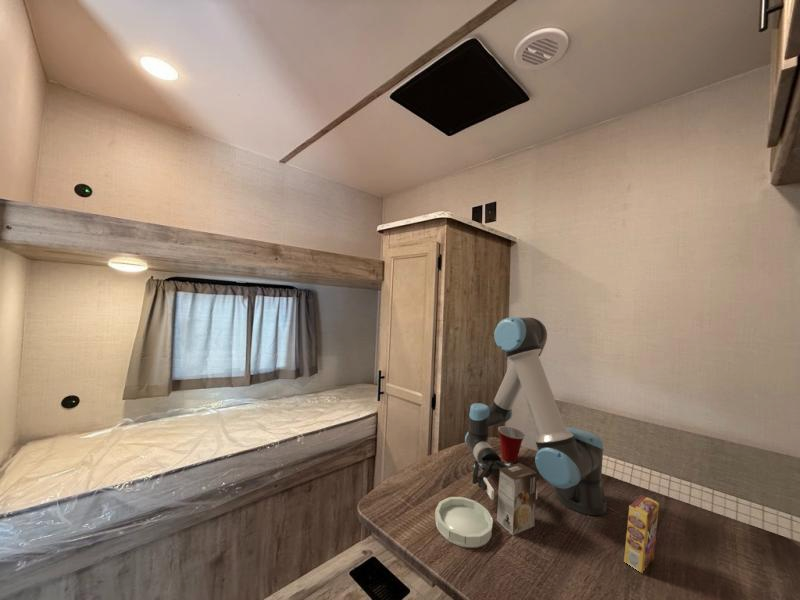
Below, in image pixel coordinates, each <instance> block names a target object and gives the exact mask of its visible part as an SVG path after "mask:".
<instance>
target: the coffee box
mask: <svg viewBox="0 0 800 600" xmlns="http://www.w3.org/2000/svg"><path fill="white" fill-rule="evenodd" d="M513 464H514V465H511V466H507V467H503V468H500V469H499V475H498V492H497V494H498V495H497V513H496V514H497V515H496V521H498V522H499V524H500V526H502V527H503V528H504V530H506V531H507V532H508V531H509V532H508V533H509V534H510V535H512V536H515V535H518V534H520V533H522V532H524V531H526V530H529V529H531V528H533V527H535V522H536V521H535V520H536V501H537V499H536V489H537V476H538V472H536V471H535V470H533V469H531V468H530V467H528V466H526V465H525V464H523V463H521V462H518V463H513ZM498 522H497V523H498Z"/></svg>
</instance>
